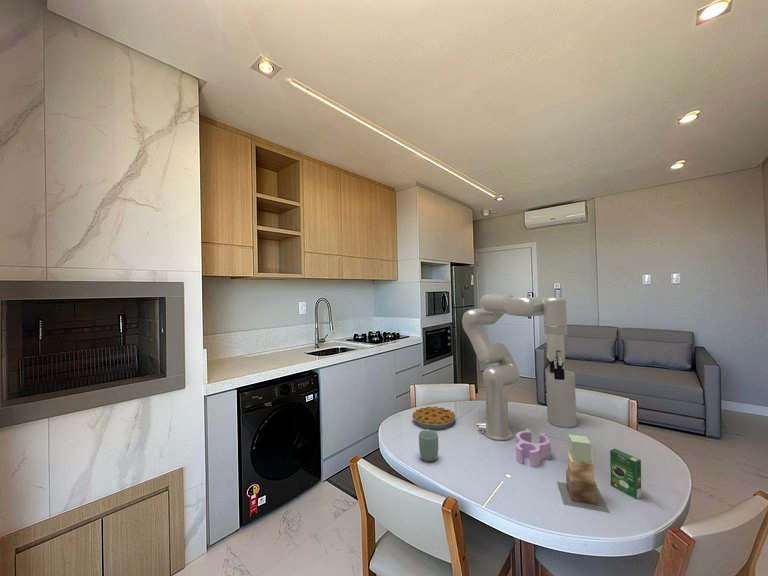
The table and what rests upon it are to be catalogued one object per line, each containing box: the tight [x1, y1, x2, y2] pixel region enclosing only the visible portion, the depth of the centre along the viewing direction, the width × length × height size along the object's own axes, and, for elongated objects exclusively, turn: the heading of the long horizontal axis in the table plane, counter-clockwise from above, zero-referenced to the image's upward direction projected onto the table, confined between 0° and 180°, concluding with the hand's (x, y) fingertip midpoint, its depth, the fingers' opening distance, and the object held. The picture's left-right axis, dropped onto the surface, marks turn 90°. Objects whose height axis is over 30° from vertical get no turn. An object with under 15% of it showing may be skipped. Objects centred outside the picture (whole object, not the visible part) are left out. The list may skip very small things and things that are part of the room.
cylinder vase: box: [545, 369, 577, 429], centre depth 156 cm, size 12×12×25 cm
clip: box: [515, 428, 551, 468], centre depth 125 cm, size 20×12×7 cm, turn 144°
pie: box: [411, 406, 456, 431], centre depth 162 cm, size 22×22×5 cm
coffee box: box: [609, 448, 642, 500], centre depth 101 cm, size 8×3×13 cm, turn 22°
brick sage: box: [568, 434, 592, 463], centre depth 99 cm, size 5×5×6 cm
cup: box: [418, 429, 439, 462], centre depth 126 cm, size 8×8×10 cm
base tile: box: [556, 481, 611, 514], centre depth 99 cm, size 12×12×1 cm
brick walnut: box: [565, 468, 598, 506], centre depth 99 cm, size 7×7×6 cm
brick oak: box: [566, 451, 596, 484], centre depth 99 cm, size 6×6×6 cm
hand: (557, 375), depth 118 cm, fingers open, 9 cm apart
